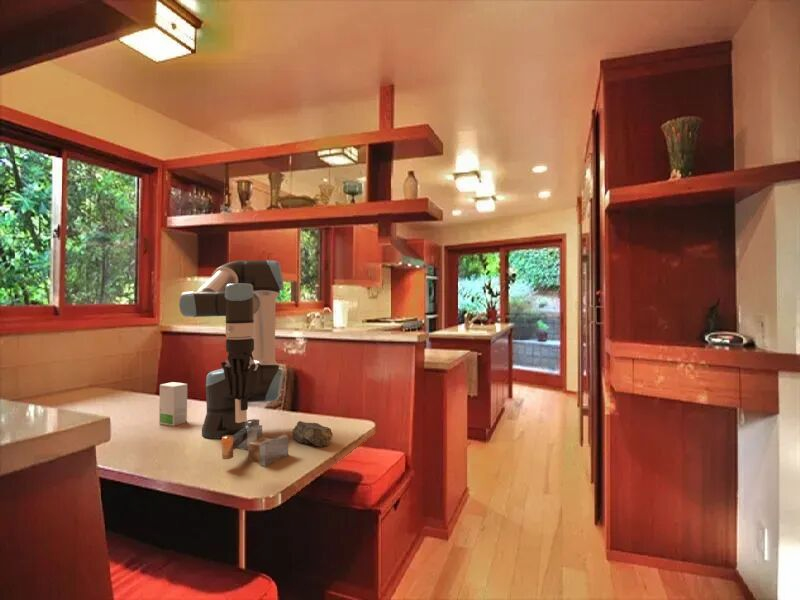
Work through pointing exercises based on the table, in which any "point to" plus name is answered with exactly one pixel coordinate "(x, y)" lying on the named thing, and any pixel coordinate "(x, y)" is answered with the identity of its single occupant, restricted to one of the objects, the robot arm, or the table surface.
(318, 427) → the rock
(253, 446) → the tan cardboard box
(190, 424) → the table surface
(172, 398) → the skincare box
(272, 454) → the grey piece
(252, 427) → the lever
